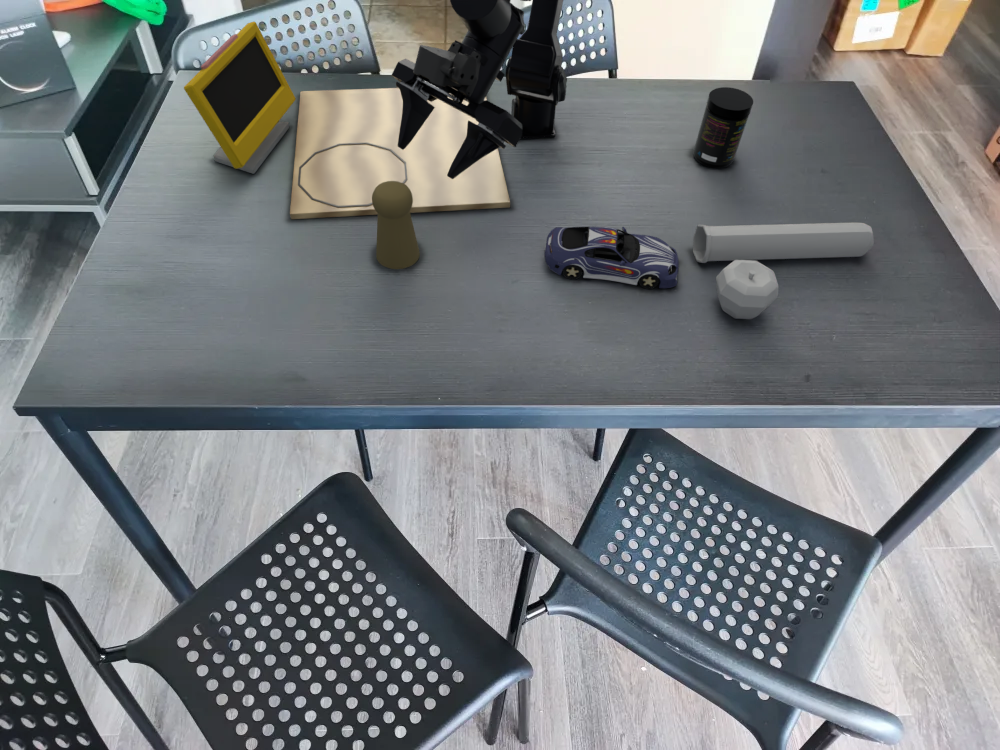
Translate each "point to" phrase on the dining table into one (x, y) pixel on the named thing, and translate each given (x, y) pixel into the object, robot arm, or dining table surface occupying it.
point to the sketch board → (384, 157)
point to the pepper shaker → (395, 226)
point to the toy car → (611, 256)
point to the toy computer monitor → (242, 99)
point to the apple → (746, 288)
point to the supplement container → (722, 127)
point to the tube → (781, 241)
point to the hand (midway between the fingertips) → (424, 162)
